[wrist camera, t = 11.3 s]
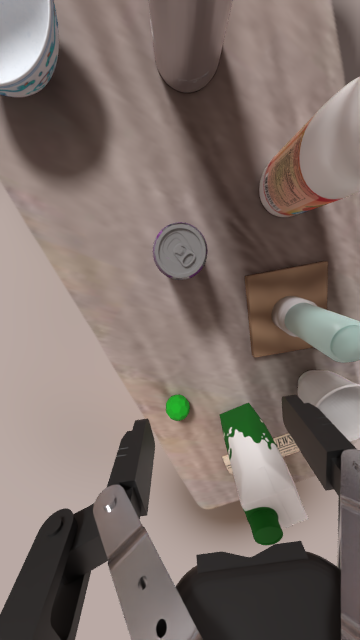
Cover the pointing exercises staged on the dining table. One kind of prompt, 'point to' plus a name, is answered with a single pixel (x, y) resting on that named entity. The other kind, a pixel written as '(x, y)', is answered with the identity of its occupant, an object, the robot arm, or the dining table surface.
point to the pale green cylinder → (325, 331)
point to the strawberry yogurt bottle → (317, 159)
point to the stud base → (273, 292)
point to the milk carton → (260, 476)
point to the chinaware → (27, 46)
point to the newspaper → (283, 445)
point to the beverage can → (180, 251)
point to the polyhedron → (177, 407)
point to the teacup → (333, 399)
